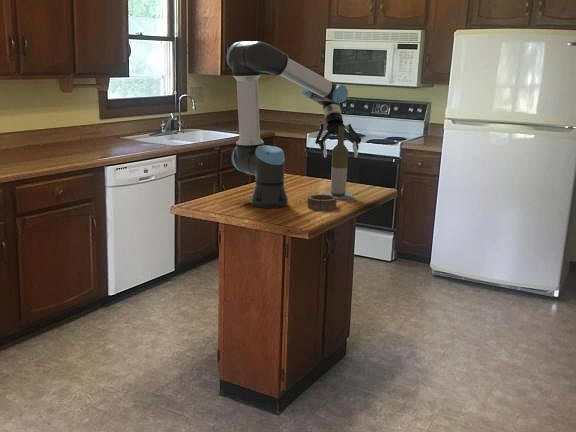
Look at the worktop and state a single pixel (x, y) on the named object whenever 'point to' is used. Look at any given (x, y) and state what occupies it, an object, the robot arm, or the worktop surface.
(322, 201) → the ring stand
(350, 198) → the mat
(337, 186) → the bottle
